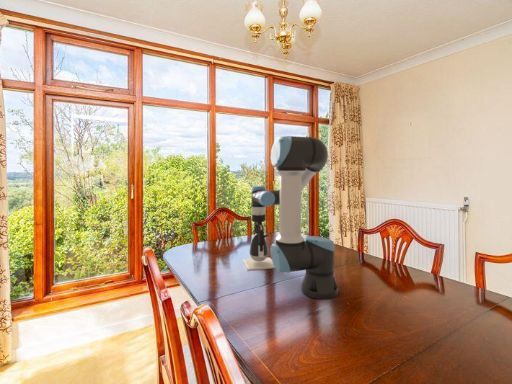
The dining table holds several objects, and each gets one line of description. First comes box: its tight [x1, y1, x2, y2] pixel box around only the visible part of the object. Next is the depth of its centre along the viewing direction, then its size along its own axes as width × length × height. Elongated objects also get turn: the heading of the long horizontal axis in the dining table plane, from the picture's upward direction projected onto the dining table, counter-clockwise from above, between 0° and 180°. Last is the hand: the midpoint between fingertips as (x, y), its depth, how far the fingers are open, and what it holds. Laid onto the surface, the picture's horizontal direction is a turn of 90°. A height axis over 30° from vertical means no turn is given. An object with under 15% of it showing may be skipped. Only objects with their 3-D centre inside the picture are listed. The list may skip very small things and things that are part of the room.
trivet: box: [242, 256, 276, 271], centre depth 156 cm, size 16×16×1 cm
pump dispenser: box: [249, 233, 269, 261], centre depth 155 cm, size 10×10×15 cm
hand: (259, 254), depth 156 cm, fingers closed on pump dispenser, 10 cm apart
